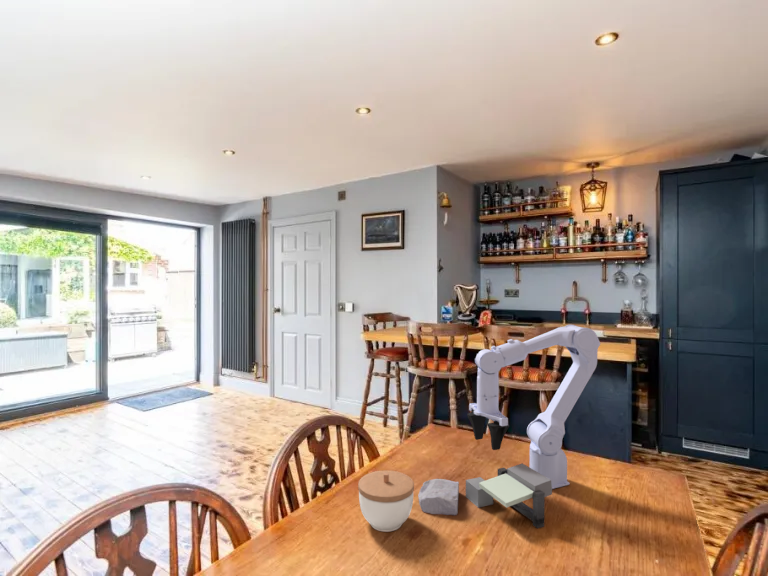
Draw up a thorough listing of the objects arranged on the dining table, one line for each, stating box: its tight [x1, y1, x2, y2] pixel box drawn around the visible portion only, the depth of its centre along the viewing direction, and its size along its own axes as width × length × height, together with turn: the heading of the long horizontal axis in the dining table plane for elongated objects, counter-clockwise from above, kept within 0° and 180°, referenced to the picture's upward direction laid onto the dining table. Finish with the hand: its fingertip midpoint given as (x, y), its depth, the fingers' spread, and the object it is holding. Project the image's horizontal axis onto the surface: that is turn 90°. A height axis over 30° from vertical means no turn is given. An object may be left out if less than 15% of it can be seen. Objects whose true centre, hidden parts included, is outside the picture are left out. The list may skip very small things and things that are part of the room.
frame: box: [497, 467, 546, 529], centre depth 98 cm, size 2×14×8 cm, turn 23°
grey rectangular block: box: [465, 476, 494, 508], centre depth 103 cm, size 4×4×6 cm
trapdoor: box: [479, 463, 553, 509], centre depth 97 cm, size 13×10×3 cm
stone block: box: [417, 478, 460, 516], centre depth 103 cm, size 12×5×10 cm
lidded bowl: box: [357, 469, 415, 533], centre depth 93 cm, size 13×13×11 cm
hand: (487, 444), depth 112 cm, fingers open, 7 cm apart
